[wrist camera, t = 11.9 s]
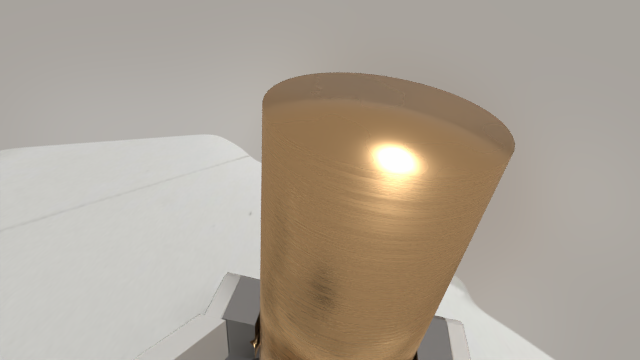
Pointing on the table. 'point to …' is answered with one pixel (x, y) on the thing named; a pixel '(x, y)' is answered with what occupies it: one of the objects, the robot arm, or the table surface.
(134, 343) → the table surface
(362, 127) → the copper tube
